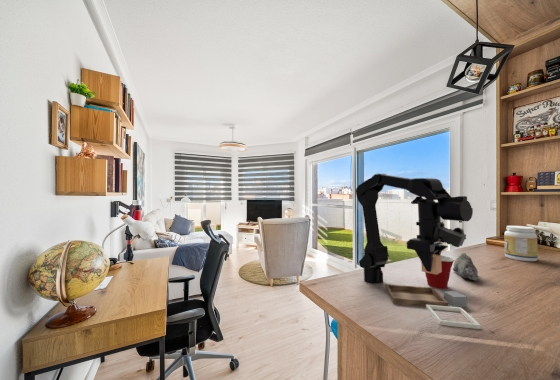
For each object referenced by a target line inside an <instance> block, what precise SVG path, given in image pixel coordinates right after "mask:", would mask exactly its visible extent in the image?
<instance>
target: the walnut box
mask: <svg viewBox="0 0 560 380" xmlns="http://www.w3.org/2000/svg"><path fill="white" fill-rule="evenodd" d="M384 286H385V287H384V288H385V291H386V293H387V295H388V297H389V299H390V300H391V302H392V304H393V305H405V306H406V305H407V306H414V307H415V306H418V307H425V308H426V304H428V305H439V306H450V305H449V303H448V302H447V301H446V300H445V299H444V296H442V295H441V294H440V293H439V292H438V291H437V290H436V288H433V287H431V286H428V287H426V286H416V285H401V284H392V283H391V284H390V283H384Z"/></svg>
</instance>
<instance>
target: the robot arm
mask: <svg viewBox="0 0 560 380" xmlns="http://www.w3.org/2000/svg"><path fill="white" fill-rule="evenodd" d="M385 186H387V187H392V188H397V189H402V190H406V191H408V192H409V193H410V194H413V195H415V196H416V197H415V198H414V199H413V200H412V201H411V202H410V204H412V205H417V213H418V214H417V215H418V221H416V222H415V225H416V226H418V234H417V235H416V237H413V238H410V239H408V240H407V241H406V249H407V250H413V251H415V253H416V255H417V257H418V259H419V260H420V262H422V264H423V265H424V267H425V269H426V271H428V272H431V269H432V261H433V255H434V254H436V255H442V251H444V250H445V249H447V248H448V247H449V246H448V245H451V246H452V247H455V248H460V247H462V246H463V244H464V242H465V240H466V239H467V234H465V232H464V229H463V228H461V227H455V228H453V229H452V228H448V227H445V223H444V221H456V222H469V221H471V219H472V217H473V213H474V212H473V210H474V208H473V207H472V205H471V202H469V201H468V197H467V196H466V195H464V196H463V195H461V196H459V195H458V196H451V194H450V193H449V192H448V191H447V190H446V189H445V188H444V185H443V183H442V182H441V180H440V179H438V178H429V177H428V178H424V177H422V178H421V177H419V178H417V177H416V178H409V177H405V176H404V177H402V176H397V175H392V174H386V173H375V174H373V175H372V176H371V177H370V178H368V179H366V180H364V181H363V182H362V183H360V184H358V185H357V187H356V188H355V194H356V198H357V201H358V202H359V204H360V206H362V213H363V221H364V228H365V237H366V244H365V247H364V249H363V250H364V251H363V257H361V259H360V260H359V261H358V264H359V267H360V268H363V282H365V283H370V284H382V283H384V273H383V271H382V268H385V267H386V264H387V262H388V260H389V257H390V255H389V250H388V249H389V248H388V246H387V245H384V244H383V243H382V241H381V234H380V228H379V222H378V214H377V207H376V205H377V202H378V200H379V193H380V192H381V191H383V189H384V187H385ZM441 219H442V220H444V221H441ZM443 243H446V244H447V245H443Z"/></svg>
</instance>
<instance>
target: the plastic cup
mask: <svg viewBox="0 0 560 380" xmlns="http://www.w3.org/2000/svg"><path fill="white" fill-rule="evenodd" d="M455 261H456V259H455V258H453V257H450V256H446V255H442V254H441V265H442V272H441V273H439V274H437V275H436V274H431V273H427V272H424V273H425V278H426V282H427V285H428V287H430V288H434V289H439V290H445V289H448V285H449V281H450V277H451V271H452V266H453V265H454V263H455Z"/></svg>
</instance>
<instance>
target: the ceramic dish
mask: <svg viewBox="0 0 560 380" xmlns="http://www.w3.org/2000/svg"><path fill="white" fill-rule="evenodd" d="M425 309H426V310H427V311H428V312H429V313H430V315H431V316H432V317H433V319H434V320H435V321H436V322H437V323H438V325H441V326H449V327H460V328H466V329H468V328H469V329H475V330H481V329H482V325H481V324H480V322H478V321H477V320H476V319H475V318H473V317H472V315H470V314H469V313H468V312H467V311H466V310H465V309H463V307H452V306H451V305H449V306H439V305H428V304H426V307H425ZM435 310H438V311H448V312H449V311H450V312H459V313H461V314H462V316H464V317H465V318H466V319H467V320H468V321H469V322H466V321H456V320H455V321H454V320H447V319H446V320H445V319H441V318H440V317H439V316H438V314H437V313H436V312H435Z"/></svg>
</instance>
